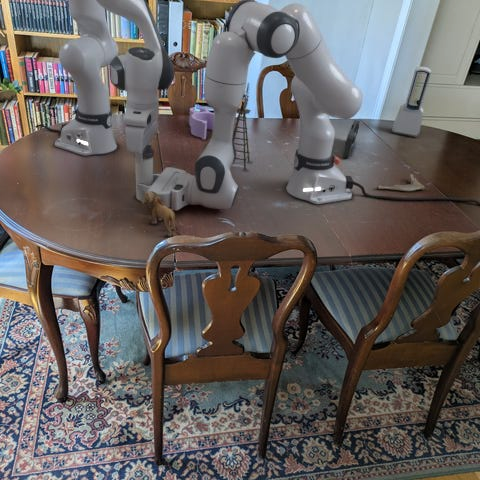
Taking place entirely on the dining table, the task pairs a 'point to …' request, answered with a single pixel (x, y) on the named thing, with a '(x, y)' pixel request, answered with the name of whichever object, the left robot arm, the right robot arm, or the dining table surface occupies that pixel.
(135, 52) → the left robot arm
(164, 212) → the lion figurine
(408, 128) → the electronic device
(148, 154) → the lid
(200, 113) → the clip
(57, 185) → the dining table surface
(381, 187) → the jawbone
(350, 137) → the handheld gaming console
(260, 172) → the dining table surface
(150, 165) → the jar
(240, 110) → the miniature windmill
